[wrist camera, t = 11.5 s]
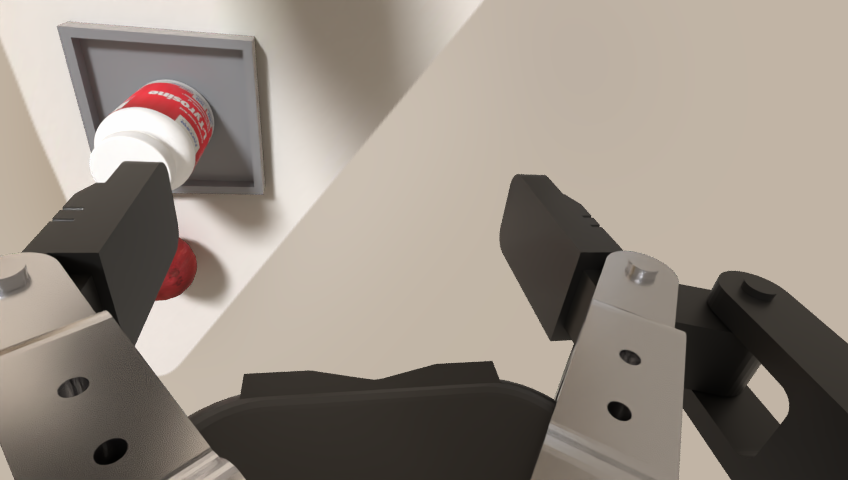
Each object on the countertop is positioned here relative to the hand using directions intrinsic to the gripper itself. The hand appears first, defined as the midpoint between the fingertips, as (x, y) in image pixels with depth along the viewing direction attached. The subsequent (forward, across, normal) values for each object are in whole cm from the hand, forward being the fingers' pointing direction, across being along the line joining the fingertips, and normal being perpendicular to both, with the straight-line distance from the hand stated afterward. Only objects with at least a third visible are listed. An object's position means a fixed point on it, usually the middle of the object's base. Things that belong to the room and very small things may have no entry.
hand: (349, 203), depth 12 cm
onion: (+32, +15, +22) cm, 42 cm away
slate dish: (+32, +12, +9) cm, 36 cm away
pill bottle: (+32, +12, +9) cm, 35 cm away
